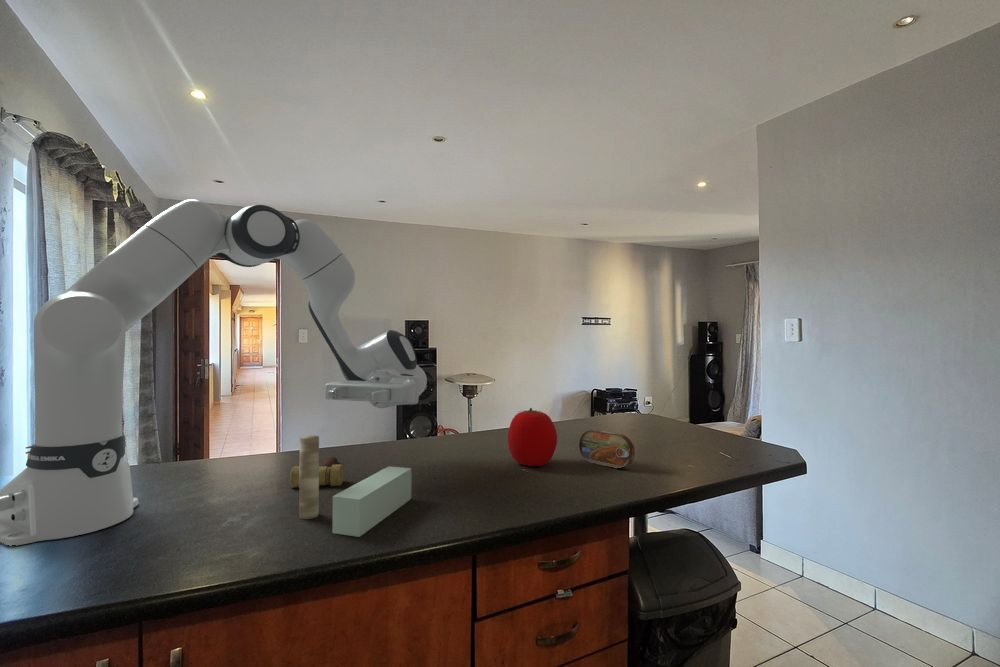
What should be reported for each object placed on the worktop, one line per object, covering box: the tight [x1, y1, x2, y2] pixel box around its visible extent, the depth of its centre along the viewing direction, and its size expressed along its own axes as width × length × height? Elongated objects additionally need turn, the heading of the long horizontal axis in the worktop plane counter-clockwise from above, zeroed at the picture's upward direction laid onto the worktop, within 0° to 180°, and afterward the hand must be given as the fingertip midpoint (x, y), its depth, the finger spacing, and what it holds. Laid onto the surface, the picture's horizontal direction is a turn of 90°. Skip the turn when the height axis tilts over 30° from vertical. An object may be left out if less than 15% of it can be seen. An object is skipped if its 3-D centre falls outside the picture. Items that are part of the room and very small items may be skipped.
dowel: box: [298, 434, 320, 520], centre depth 83 cm, size 3×3×14 cm
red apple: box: [507, 407, 558, 467], centre depth 117 cm, size 13×11×14 cm
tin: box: [578, 429, 636, 468], centre depth 117 cm, size 15×3×8 cm, turn 43°
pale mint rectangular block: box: [331, 465, 412, 538], centre depth 84 cm, size 5×18×6 cm, turn 164°
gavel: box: [289, 456, 344, 489], centre depth 108 cm, size 21×5×10 cm
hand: (349, 396), depth 95 cm, fingers open, 8 cm apart
